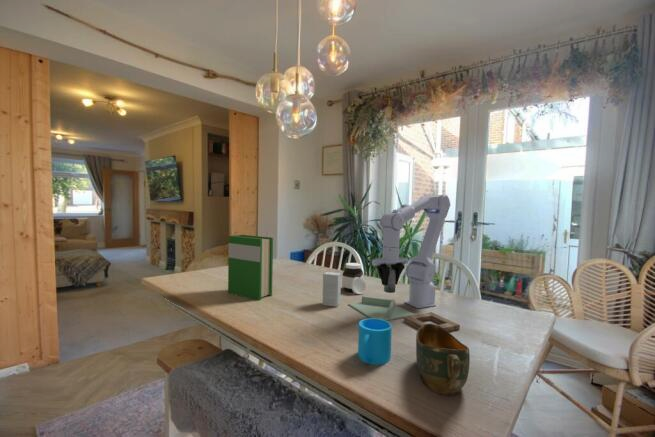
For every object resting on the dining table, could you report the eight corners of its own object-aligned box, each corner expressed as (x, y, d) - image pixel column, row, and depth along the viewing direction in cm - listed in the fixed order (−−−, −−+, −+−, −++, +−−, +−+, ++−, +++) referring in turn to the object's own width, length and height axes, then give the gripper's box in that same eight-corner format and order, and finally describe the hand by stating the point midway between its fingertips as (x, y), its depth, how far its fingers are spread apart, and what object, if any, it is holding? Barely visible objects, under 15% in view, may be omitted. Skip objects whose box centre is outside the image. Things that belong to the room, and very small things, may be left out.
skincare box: (340, 303, 117) (341, 273, 116) (337, 307, 113) (338, 275, 112) (325, 301, 119) (326, 271, 118) (321, 305, 115) (322, 273, 114)
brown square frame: (431, 316, 106) (431, 312, 106) (459, 329, 95) (459, 324, 95) (403, 321, 101) (404, 316, 101) (430, 335, 90) (430, 330, 90)
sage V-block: (382, 300, 123) (383, 292, 123) (415, 315, 106) (415, 307, 106) (348, 304, 116) (348, 296, 116) (376, 322, 99) (377, 313, 99)
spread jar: (351, 286, 144) (351, 261, 143) (372, 290, 137) (373, 264, 136) (336, 291, 134) (337, 265, 133) (359, 296, 127) (360, 269, 127)
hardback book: (272, 295, 125) (273, 237, 124) (259, 300, 119) (260, 239, 118) (241, 288, 134) (242, 234, 133) (228, 292, 128) (228, 235, 127)
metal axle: (394, 289, 111) (394, 268, 111) (396, 293, 107) (397, 270, 107) (383, 289, 111) (383, 267, 111) (384, 292, 107) (385, 270, 107)
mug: (365, 345, 82) (366, 316, 82) (395, 354, 78) (396, 322, 78) (345, 365, 72) (346, 331, 72) (377, 375, 68) (378, 339, 67)
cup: (393, 389, 63) (395, 341, 62) (422, 353, 79) (424, 314, 79) (460, 415, 56) (463, 360, 55) (476, 369, 72) (479, 327, 72)
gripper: (399, 244, 115) (398, 280, 116) (367, 245, 109) (366, 283, 109) (412, 247, 109) (411, 284, 109) (379, 248, 103) (377, 288, 103)
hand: (389, 284), depth 109 cm, fingers closed on metal axle, 4 cm apart
